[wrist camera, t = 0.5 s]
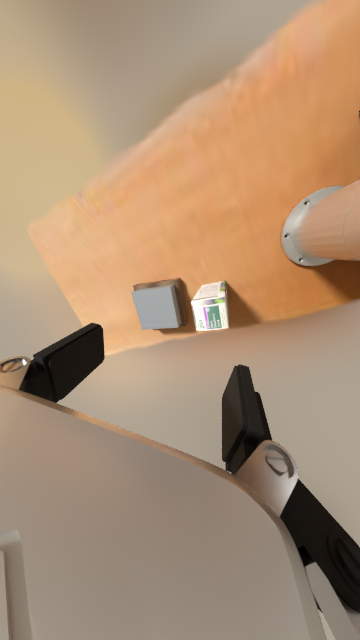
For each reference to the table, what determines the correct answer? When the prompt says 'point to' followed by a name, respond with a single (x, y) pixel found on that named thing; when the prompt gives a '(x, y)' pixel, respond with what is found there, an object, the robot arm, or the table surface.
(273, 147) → the table surface
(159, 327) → the tower top
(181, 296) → the tower base
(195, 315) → the syrup box
